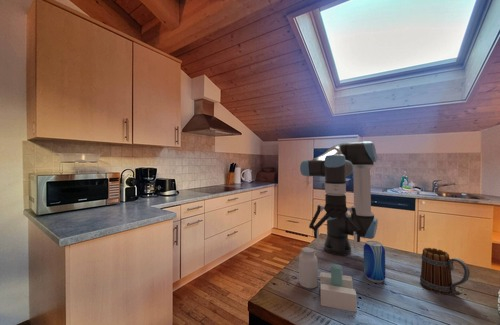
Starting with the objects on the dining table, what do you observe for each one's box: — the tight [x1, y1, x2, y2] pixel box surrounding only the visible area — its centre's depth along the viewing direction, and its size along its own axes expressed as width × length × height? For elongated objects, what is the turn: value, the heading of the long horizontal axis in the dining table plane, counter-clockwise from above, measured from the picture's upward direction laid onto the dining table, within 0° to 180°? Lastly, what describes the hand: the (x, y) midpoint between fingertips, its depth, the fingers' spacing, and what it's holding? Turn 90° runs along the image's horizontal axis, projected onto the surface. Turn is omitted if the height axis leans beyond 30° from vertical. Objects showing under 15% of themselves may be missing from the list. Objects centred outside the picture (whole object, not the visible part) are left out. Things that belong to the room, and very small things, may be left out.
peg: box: [330, 264, 343, 287], centre depth 82 cm, size 4×4×12 cm
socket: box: [319, 271, 358, 313], centre depth 82 cm, size 13×12×6 cm
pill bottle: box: [298, 246, 319, 289], centre depth 91 cm, size 8×8×15 cm
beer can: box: [363, 240, 386, 284], centre depth 95 cm, size 8×8×16 cm
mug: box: [419, 247, 471, 296], centre depth 86 cm, size 16×11×15 cm
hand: (336, 248), depth 82 cm, fingers open, 13 cm apart
